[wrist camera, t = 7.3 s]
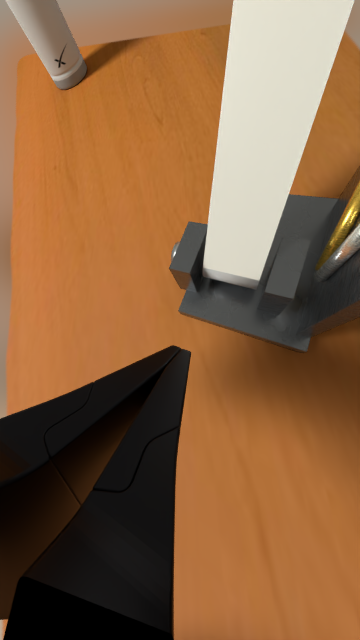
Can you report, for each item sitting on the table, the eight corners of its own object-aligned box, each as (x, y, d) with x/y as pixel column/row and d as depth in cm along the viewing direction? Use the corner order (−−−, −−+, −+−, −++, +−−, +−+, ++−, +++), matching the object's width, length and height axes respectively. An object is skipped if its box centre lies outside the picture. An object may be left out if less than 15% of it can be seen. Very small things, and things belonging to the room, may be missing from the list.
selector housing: (301, 353, 14) (409, 326, 6) (169, 310, 18) (116, 254, 9) (340, 209, 16) (462, 36, 8) (215, 196, 20) (206, 65, 11)
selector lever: (252, 300, 13) (503, -438, 3) (198, 285, 14) (258, -277, 4) (260, 277, 15) (413, -177, 6) (213, 267, 17) (272, -121, 7)
